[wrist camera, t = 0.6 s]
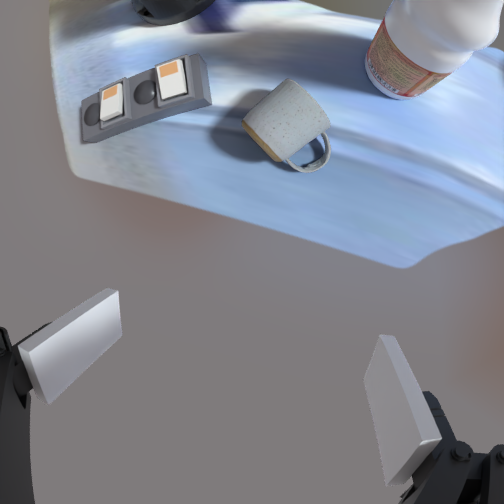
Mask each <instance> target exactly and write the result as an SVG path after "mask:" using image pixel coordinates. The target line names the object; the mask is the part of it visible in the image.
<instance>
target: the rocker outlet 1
mask: <svg viewBox="0 0 504 504" xmlns="http://www.w3.org/2000/svg"><path fill="white" fill-rule="evenodd" d="M122 104H123V85H122V84H121V83H119V84H117V85H114V86H112V87H110V88H108V89H106V90H104V91H102V99H101V112H100V119H101V120H103V121H106V120H108V119H110V118H113V117H115V116H117V115H120V114H122Z"/></svg>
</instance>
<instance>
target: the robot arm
mask: <svg viewBox="0 0 504 504" xmlns="http://www.w3.org/2000/svg"><path fill="white" fill-rule="evenodd" d="M131 1H132V4H133V6H134V9H135V11H136V13H137V14H138V15H139V16H140V17H141V18H143V19H144V20H145V21H146V22H148V23H151V24H155V25H169V24H174V23H178V22H181V21H184V20H187V19H189V18H191V17H193V16H195V15H197V14H199V13H200V12H202V11H203V10H205V9H206V8H207V7H209V6H210V5H211V4H212V3H213V2H214V1H215V0H131ZM118 296H119V295H118V291H117V290H114V289H109V288H106V289H104V290H103V291H101V292H99V293H98V294H96V295H94V296H93V297H91V298H90V299H88V300H86V301H85V302H83V303H82V304H80V305H79V306H77V307H76V308H74V309H72V310H71V311H69V312H68V313H66V314H65V315H63V316H62V317H60V318H58V319H57V320H55V321H54V322H51V323H48V324H45V325H43V326H42V327H41V328H39V329H38V330H36V331H34V332H33V333H32V334H30V335H28V336H27V337H25V338H24V339H22V340H21V341H19V342H18V343H16V344H15V345H13V346H12V345H11V342H10V339H9V336H8V332H7V330H6V329H5V328H3V327H0V504H35V501H34V494H33V486H32V476H31V463H30V404H31V396H30V393H29V391H30V390H31V389H32V388H33V389H34V391H35V394H36V396H37V398H38V399H39V400H41V401H42V402H44V403H46V404H47V405H50V404H51V403H52V402H53V401H54V400H55V399H56V398H57V397H58V396H59V395H60V394H61V393H62V392H63V391H64V390H65V389H66V388H67V387H68V386H69V385H70V384H71V383H72V382H73V381H75V380H76V379H77V378H78V376H80V375H81V374H82V373H83V372H84V371H85V370H86V369H87V368H88V367H89V366H90V365H91V364H92V363H93V362H94V361H96V360H97V359H98V358H99V357H100V356H101V355H102V354H103V353H104V352H105V351H106V350H107V349H108V348H109V347H110V346H112V345H113V344H114V343H115V342H116V341H117V340H118V339H119V338H120V337H121V336H122V327H121V318H120V307H119V297H118ZM363 381H364V385H365V388H366V393H367V397H368V401H369V405H370V409H371V414H372V418H373V423H374V427H375V432H376V436H377V441H378V446H379V451H380V457H381V462H382V467H383V473H384V479H385V484H386V486H391V485H399V484H404V483H405V482H406V481H407V480H408V479H409V478H410V477H411V476H412V478H413V482H414V483H413V485H411V487H410V488H409V489H408V490H407V491H406V492H405V493H404V494H402V496H401V498H402V499H401V501H400V502H399V504H504V445H503V444H502V445H496V446H495V447H494V448H493V449H492V450H491V451H490V452H489V453H488V454H484V453H473V450H472V448H471V447H470V446H469V445H468V444H466V443H465V442H462V441H457V440H456V438H455V436H454V433H453V431H452V429H451V427H450V425H449V422H448V420H447V418H446V416H444V415H445V414H444V412H443V410H442V409H441V406H440V404H439V402H438V400H437V398H436V397H435V396H434V395H432V393H430V392H429V391H425V392H422V391H421V389H420V387H419V385H418V383H417V381H416V379H415V376H414V374H413V372H412V370H411V368H410V366H409V365H408V362H407V360H406V358H405V357H404V354H403V352H402V350H401V349H400V347H399V345H398V343H397V341H396V339H395V337H394V336H390V335H379V338H378V341H377V344H376V347H375V350H374V353H373V355H372V358H371V361H370V364H369V366H368V369H367V372H366V374H365V377H364V379H363Z"/></svg>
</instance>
